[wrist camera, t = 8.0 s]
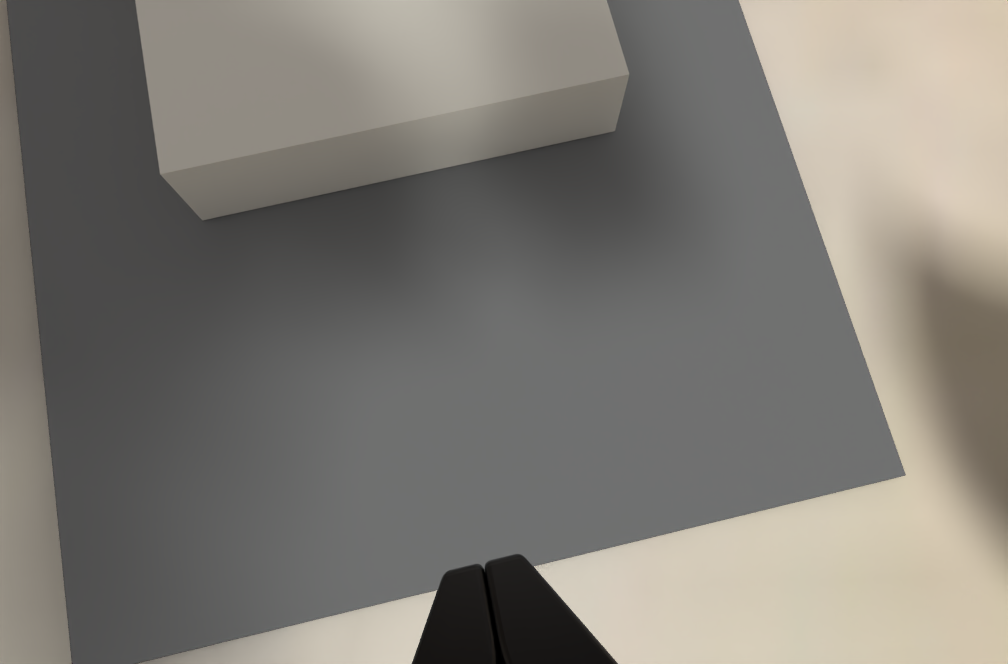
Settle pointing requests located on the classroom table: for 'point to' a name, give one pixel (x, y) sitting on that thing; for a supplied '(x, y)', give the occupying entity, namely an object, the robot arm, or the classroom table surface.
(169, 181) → the picture tile
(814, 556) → the classroom table surface
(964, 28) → the classroom table surface
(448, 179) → the felt mat
